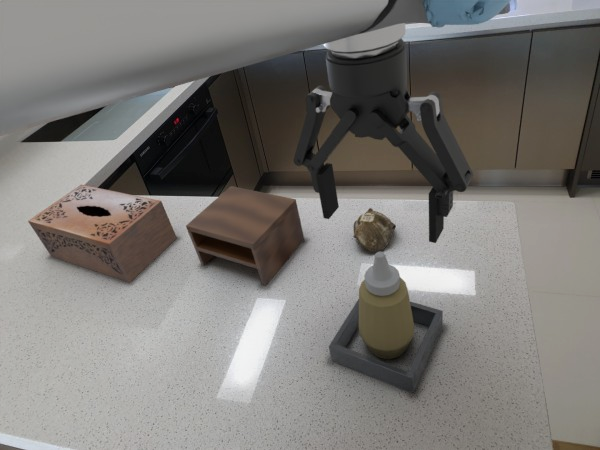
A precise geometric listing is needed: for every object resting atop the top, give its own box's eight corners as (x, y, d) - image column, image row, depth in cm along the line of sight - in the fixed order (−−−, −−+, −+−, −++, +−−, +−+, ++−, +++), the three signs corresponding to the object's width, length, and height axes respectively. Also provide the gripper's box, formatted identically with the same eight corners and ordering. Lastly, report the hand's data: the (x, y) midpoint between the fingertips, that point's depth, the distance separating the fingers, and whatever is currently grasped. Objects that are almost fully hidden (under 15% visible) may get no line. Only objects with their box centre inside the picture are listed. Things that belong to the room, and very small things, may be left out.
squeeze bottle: (403, 374, 65) (398, 283, 54) (351, 354, 69) (337, 266, 58) (422, 332, 70) (421, 242, 59) (374, 316, 74) (364, 229, 63)
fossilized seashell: (368, 207, 93) (339, 240, 89) (378, 191, 88) (347, 226, 83) (398, 230, 92) (370, 265, 88) (410, 215, 86) (380, 252, 82)
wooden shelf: (265, 286, 84) (253, 244, 78) (201, 264, 92) (185, 225, 86) (304, 239, 93) (295, 199, 87) (242, 224, 101) (230, 185, 95)
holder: (413, 393, 62) (412, 378, 60) (331, 361, 69) (328, 346, 67) (442, 326, 70) (442, 310, 68) (367, 302, 77) (365, 288, 74)
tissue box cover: (177, 238, 101) (161, 200, 95) (130, 282, 91) (109, 244, 85) (99, 218, 113) (81, 184, 107) (50, 256, 103) (27, 221, 97)
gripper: (518, 28, 39) (497, 225, 51) (277, 32, 51) (308, 189, 64) (496, 61, 34) (479, 269, 47) (236, 56, 47) (279, 221, 59)
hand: (380, 223), depth 55 cm, fingers open, 13 cm apart
